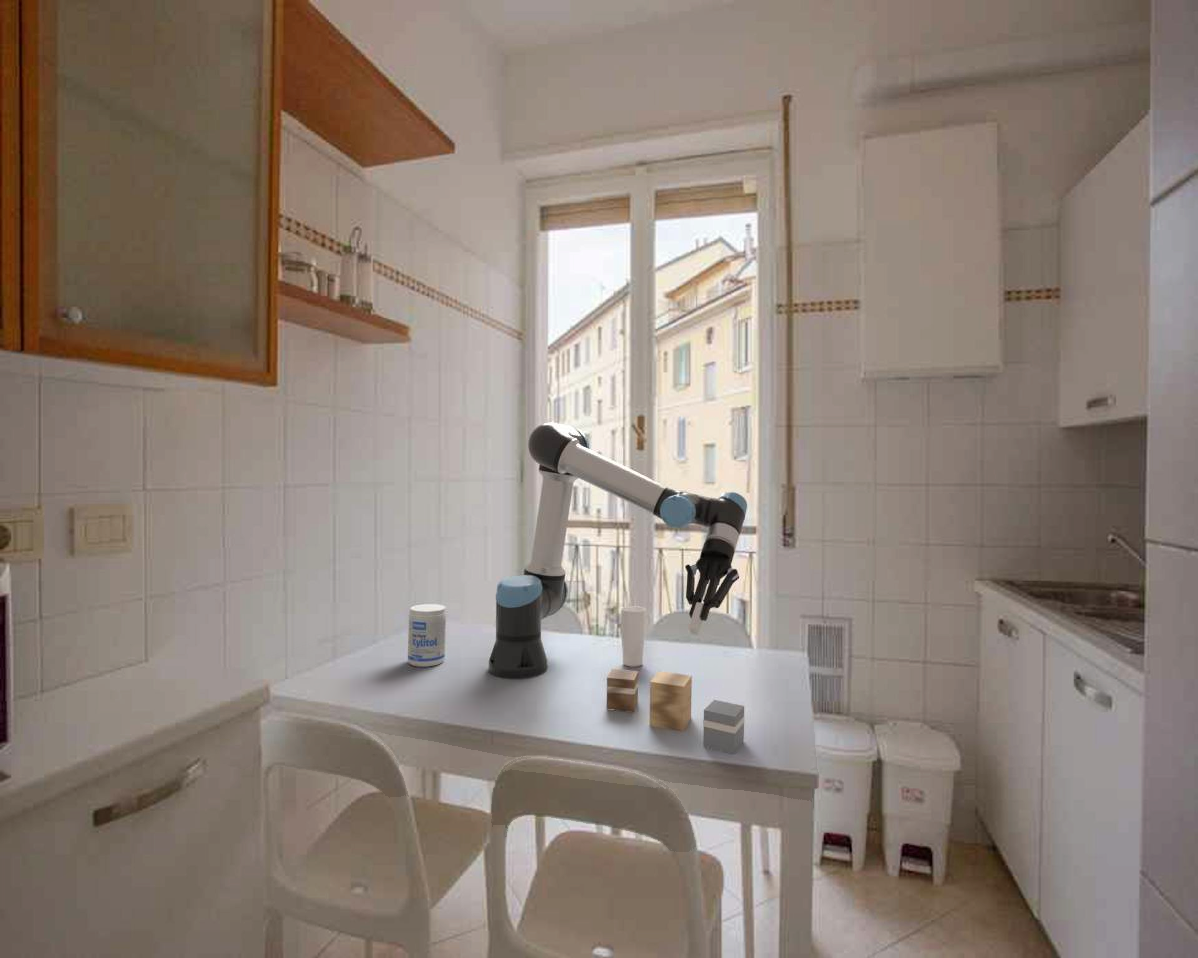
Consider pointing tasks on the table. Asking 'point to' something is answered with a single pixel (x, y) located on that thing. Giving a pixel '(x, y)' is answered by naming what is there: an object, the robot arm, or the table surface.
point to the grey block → (723, 726)
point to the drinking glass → (633, 634)
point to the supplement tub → (426, 635)
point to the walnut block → (622, 690)
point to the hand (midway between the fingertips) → (693, 631)
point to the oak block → (670, 700)
